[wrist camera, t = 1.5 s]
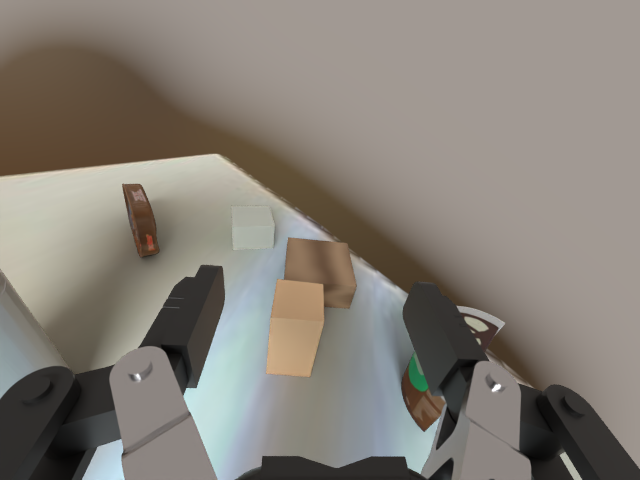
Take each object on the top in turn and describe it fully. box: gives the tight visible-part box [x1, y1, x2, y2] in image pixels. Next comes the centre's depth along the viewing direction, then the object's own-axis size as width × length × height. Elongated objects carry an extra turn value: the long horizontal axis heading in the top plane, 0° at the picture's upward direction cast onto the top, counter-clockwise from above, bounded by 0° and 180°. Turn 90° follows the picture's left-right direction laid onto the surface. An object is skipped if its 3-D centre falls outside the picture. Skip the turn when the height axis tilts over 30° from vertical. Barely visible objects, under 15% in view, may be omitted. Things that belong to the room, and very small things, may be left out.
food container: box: [402, 306, 505, 432], centre depth 30 cm, size 12×6×10 cm, turn 133°
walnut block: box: [284, 238, 357, 308], centre depth 43 cm, size 10×10×5 cm
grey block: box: [231, 206, 275, 250], centre depth 49 cm, size 7×7×5 cm
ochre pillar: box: [266, 279, 324, 377], centre depth 30 cm, size 5×5×10 cm
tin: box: [122, 184, 159, 257], centre depth 43 cm, size 15×3×8 cm, turn 35°
